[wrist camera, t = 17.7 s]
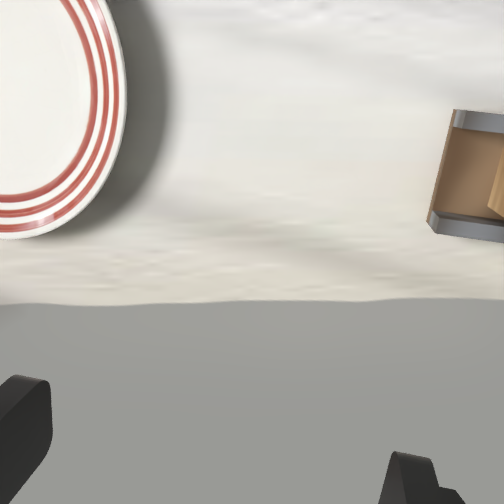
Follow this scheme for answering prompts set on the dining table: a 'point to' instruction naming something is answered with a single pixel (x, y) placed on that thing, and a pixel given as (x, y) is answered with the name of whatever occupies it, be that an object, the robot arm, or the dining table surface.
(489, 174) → the walnut track
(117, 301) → the dining table surface
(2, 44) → the dinner plate
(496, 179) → the oak block
